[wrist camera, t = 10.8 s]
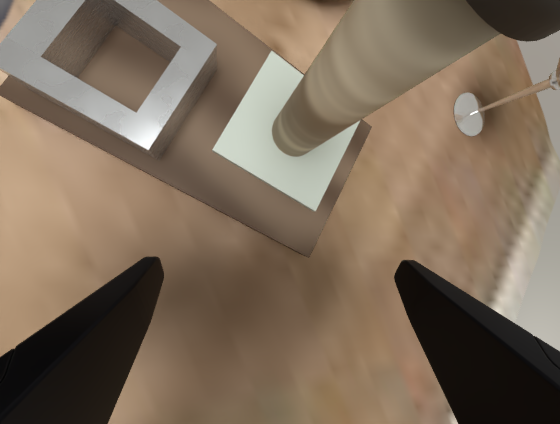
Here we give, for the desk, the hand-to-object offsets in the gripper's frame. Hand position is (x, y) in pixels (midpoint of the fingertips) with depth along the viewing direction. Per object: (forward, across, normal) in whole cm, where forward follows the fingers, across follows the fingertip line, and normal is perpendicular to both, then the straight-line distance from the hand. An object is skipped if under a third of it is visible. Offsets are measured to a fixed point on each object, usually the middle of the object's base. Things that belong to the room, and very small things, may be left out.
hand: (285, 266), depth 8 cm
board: (+13, +4, -3) cm, 14 cm away
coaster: (+12, -1, -2) cm, 12 cm away
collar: (+12, +10, -5) cm, 16 cm away
